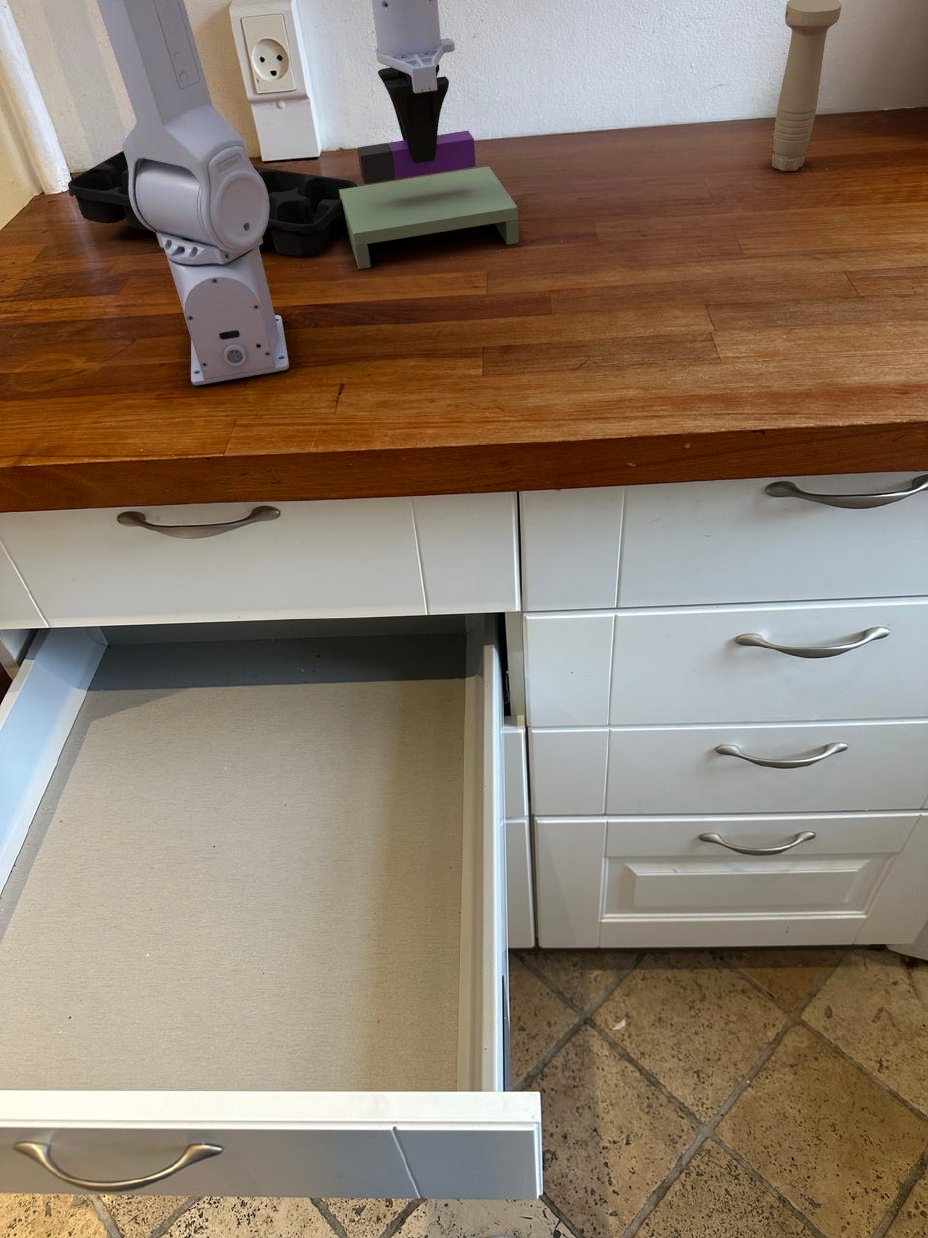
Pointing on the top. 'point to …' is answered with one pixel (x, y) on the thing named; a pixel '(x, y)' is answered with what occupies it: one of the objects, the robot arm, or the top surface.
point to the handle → (801, 79)
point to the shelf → (426, 208)
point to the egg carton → (294, 198)
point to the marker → (398, 163)
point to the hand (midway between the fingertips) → (420, 155)
